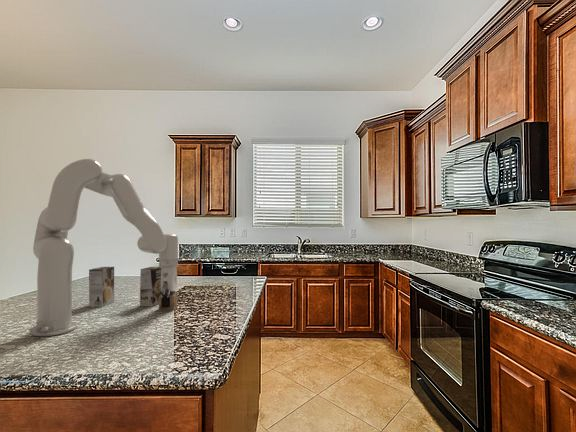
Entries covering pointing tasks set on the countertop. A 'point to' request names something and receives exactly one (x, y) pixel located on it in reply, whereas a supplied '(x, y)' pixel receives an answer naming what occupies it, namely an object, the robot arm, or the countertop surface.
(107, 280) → the coffee box
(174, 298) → the tan cube
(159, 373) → the countertop surface
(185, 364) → the countertop surface
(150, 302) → the coffee box
